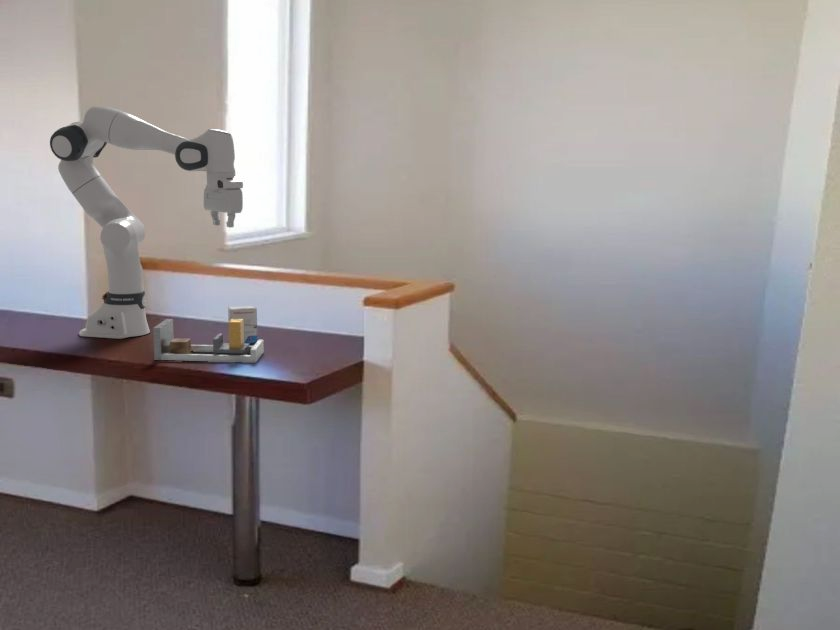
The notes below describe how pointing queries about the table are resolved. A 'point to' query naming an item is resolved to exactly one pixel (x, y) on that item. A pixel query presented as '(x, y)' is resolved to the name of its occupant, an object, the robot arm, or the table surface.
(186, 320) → the table surface
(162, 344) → the frame
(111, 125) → the robot arm
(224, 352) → the slider
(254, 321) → the ink box
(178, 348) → the wooden cube
